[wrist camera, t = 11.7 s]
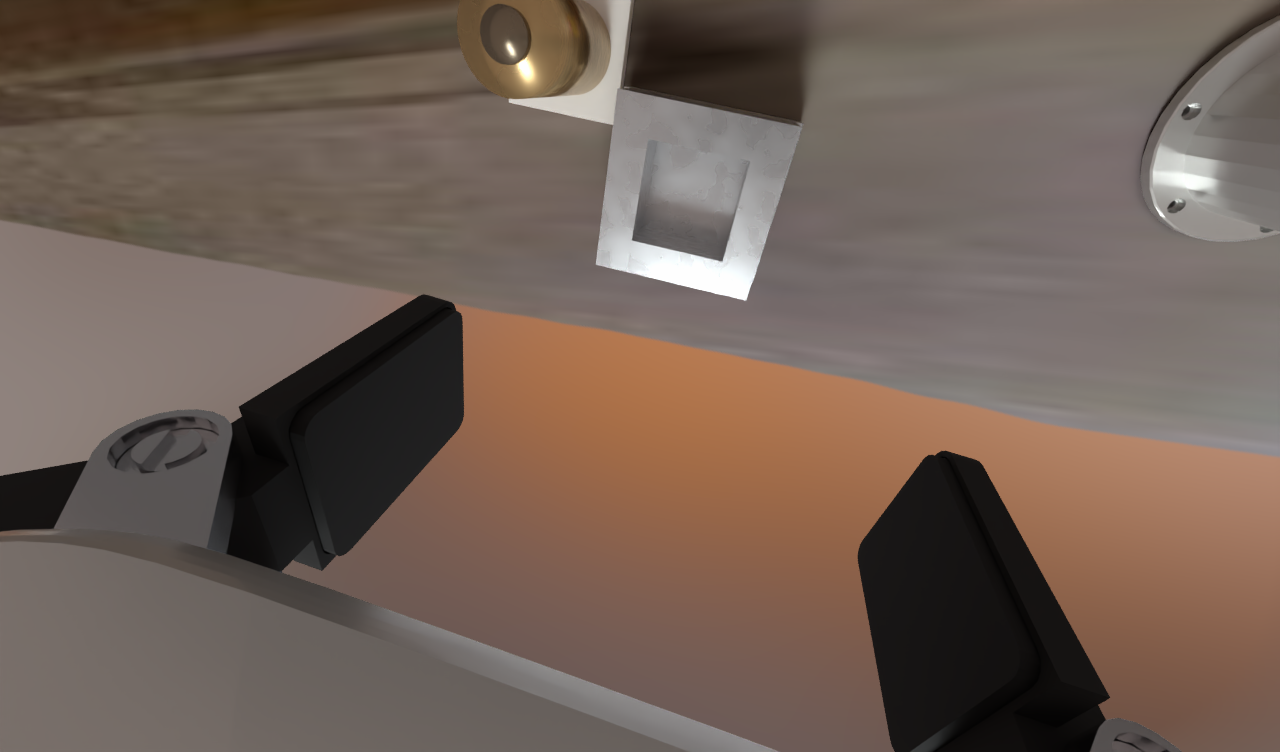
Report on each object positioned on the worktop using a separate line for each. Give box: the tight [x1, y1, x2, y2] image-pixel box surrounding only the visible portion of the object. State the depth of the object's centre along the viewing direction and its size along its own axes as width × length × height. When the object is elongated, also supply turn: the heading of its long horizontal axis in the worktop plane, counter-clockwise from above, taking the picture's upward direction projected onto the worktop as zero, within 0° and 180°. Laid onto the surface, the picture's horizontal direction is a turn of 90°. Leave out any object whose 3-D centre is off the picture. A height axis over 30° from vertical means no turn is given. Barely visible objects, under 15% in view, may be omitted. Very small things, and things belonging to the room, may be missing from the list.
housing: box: [596, 86, 803, 300], centre depth 33 cm, size 12×11×6 cm
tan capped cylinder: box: [457, 0, 611, 99], centre depth 27 cm, size 5×5×11 cm
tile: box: [509, 0, 635, 125], centre depth 32 cm, size 8×8×1 cm
